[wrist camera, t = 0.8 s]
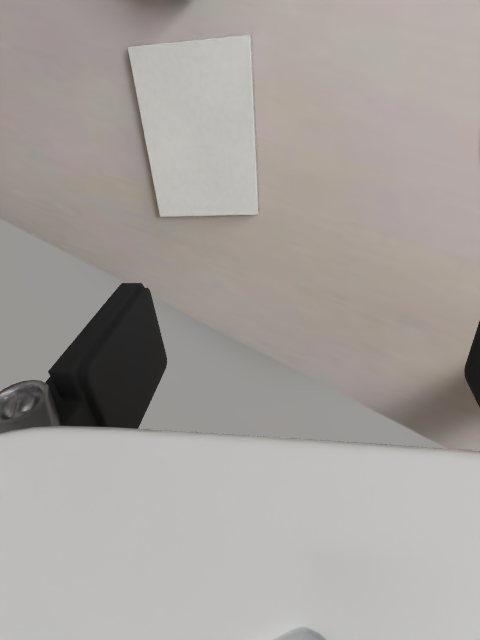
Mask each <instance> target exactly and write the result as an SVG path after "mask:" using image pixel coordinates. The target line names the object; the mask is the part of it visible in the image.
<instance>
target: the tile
mask: <svg viewBox="0 0 480 640" xmlns="http://www.w3.org/2000/svg"><path fill="white" fill-rule="evenodd" d="M128 52H129V57H130V63H131V68H132V73H133V78H134V84H135V89H136V94H137V99H138V104H139V110H140V115H141V120H142V125H143V130H144V136H145V141H146V146H147V151H148V156H149V162H150V167H151V172H152V177H153V182H154V188H155V193H156V198H157V203H158V208H159V214H160V217H171V216H217V215H258V213H259V195H258V172H257V149H256V126H255V103H254V80H253V58H252V36H251V35H240V36H230V37H220V38H210V39H200V40H190V41H180V42H170V43H160V44H150V45H140V46H130V47H128Z"/></svg>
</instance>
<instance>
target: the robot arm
mask: <svg viewBox="0 0 480 640" xmlns="http://www.w3.org/2000/svg"><path fill="white" fill-rule="evenodd" d="M166 365H167V357H166V352H165V349H164V344H163V341H162V337H161V333H160V329H159V325H158V321H157V317H156V313H155V309H154V305H153V301H152V297H151V293H150V290H149V289H148V288H144V286H143V284H141V283H122V284H121V285H120V286H119V287H118V288H117V290H116V291H115V292H114V293H113V294H112V296H111V297H110V298H109V299H108V300H107V302H106V303H105V304H104V305H103V306H102V307H101V309H100V310H99V311H98V313H97V314H96V315H95V316H94V317H93V318H92V320H91V321H90V322H89V323H88V324H87V326H86V327H85V328H84V329H83V330H82V332H81V333H80V334H79V335H78V336H77V338H76V339H75V340H74V341H73V343H72V344H71V345H70V346H69V347H68V348H67V350H66V351H65V352H64V353H63V354H62V356H61V357H60V358H59V359H58V360H57V362H56V363H55V364H54V365H53V366H52V368H51V369H50V370H49V371H48V372H49V374H50V377H49V379H48V380H47V381H46V383H44V382H42V381H38V380H29V381H23V382H19V383H16V384H13V385H11V386H9V387H7V388H5V389H3V390H2V391H0V640H480V451H472V450H457V449H443V448H428V447H415V446H401V445H387V444H372V443H356V442H342V441H326V440H312V439H296V438H280V437H265V436H249V435H234V434H217V433H199V432H183V431H166V430H150V429H138V427H139V425H140V423H141V421H142V418H143V417H144V414H145V412H146V410H147V408H148V406H149V404H150V401H151V399H152V397H153V395H154V393H155V391H156V388H157V386H158V384H159V382H160V380H161V378H162V375H163V373H164V371H165V369H166ZM465 378H466V381H467V383H468V385H469V387H470V389H471V391H472V393H473V395H474V397H475V399H476V401H477V403H478V405H479V407H480V322H479V325H478V328H477V331H476V334H475V337H474V340H473V343H472V346H471V349H470V352H469V355H468V359H467V362H466V365H465Z"/></svg>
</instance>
